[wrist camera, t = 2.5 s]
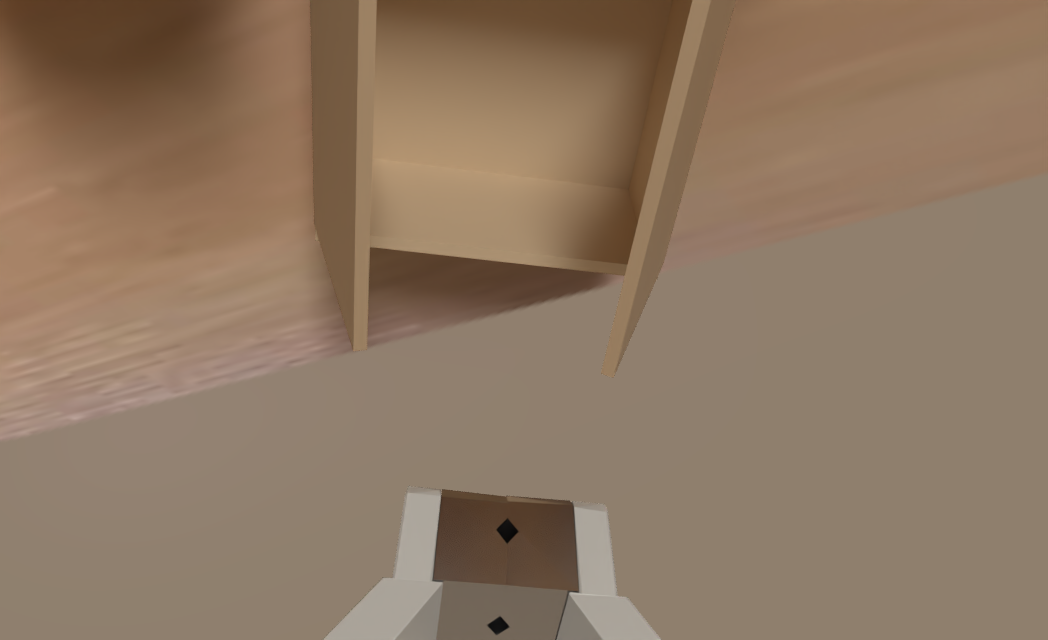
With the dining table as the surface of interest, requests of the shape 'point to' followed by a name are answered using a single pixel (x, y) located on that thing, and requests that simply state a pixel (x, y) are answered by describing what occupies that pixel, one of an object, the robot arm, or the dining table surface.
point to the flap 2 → (670, 166)
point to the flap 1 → (344, 149)
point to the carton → (519, 126)
